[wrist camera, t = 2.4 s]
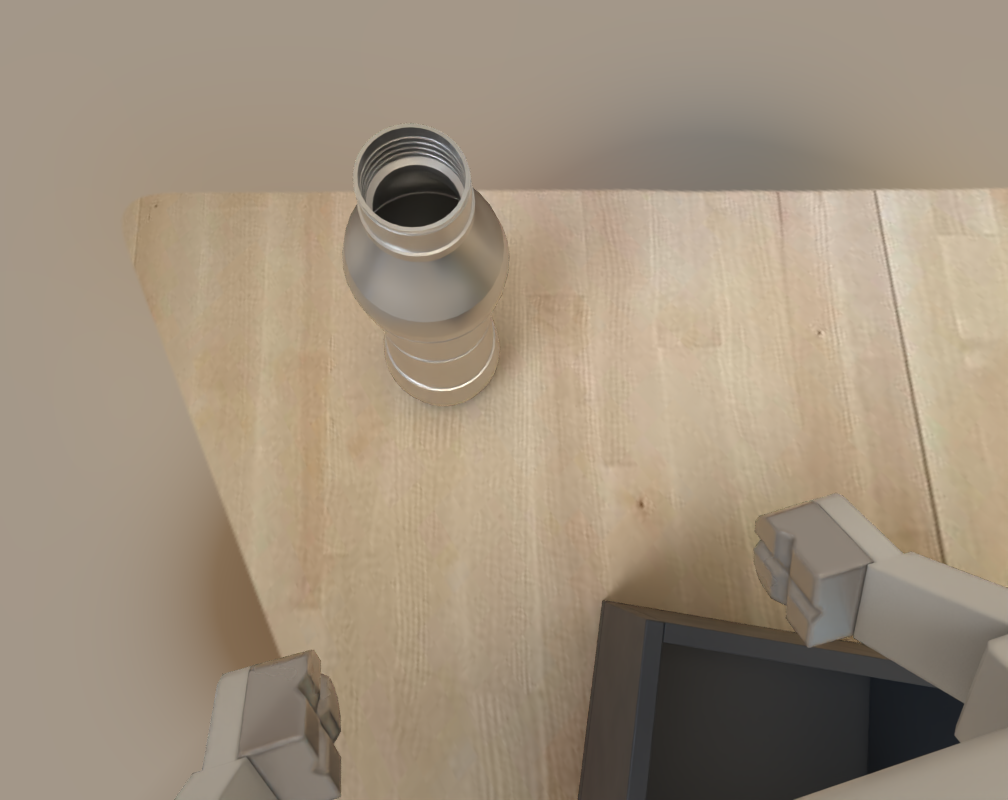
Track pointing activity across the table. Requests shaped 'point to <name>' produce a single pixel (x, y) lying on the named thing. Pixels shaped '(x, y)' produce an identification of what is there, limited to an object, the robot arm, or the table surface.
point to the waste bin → (745, 711)
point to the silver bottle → (426, 262)
